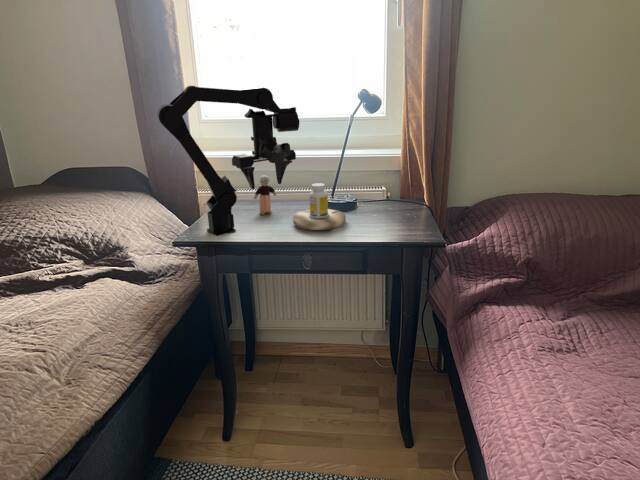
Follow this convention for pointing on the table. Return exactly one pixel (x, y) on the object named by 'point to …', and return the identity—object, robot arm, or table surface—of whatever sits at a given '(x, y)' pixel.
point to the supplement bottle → (318, 201)
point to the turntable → (319, 220)
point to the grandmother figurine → (264, 195)
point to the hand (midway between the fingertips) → (266, 186)
